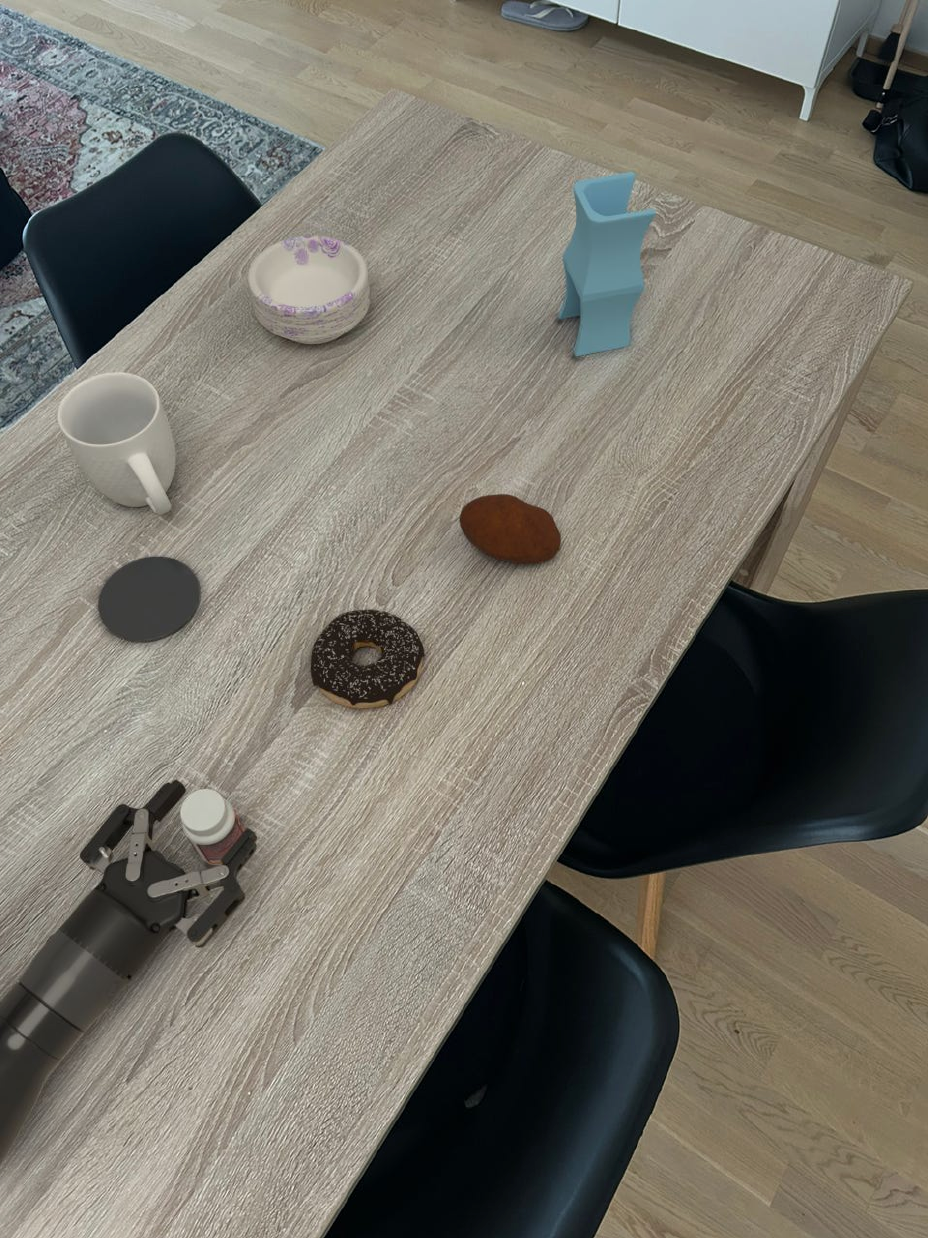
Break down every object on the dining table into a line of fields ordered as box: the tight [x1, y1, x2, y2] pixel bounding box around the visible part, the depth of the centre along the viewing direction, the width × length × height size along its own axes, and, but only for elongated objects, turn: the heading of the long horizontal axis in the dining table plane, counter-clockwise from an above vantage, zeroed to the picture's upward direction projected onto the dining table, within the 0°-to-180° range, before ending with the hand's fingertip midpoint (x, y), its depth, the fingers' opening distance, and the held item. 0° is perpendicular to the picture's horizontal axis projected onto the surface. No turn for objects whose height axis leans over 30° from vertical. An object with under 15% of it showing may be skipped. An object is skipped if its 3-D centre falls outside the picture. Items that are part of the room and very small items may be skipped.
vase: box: [557, 171, 657, 357], centre depth 128 cm, size 8×8×20 cm
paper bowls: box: [247, 235, 371, 345], centre depth 134 cm, size 15×15×8 cm
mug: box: [56, 371, 177, 516], centre depth 116 cm, size 15×11×13 cm
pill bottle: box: [179, 788, 245, 866], centre depth 96 cm, size 5×5×8 cm
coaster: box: [97, 556, 201, 643], centre depth 114 cm, size 11×11×1 cm
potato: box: [458, 493, 562, 565], centre depth 114 cm, size 8×12×8 cm, turn 78°
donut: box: [310, 609, 426, 710], centre depth 108 cm, size 11×12×4 cm
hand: (216, 808), depth 95 cm, fingers open, 8 cm apart
